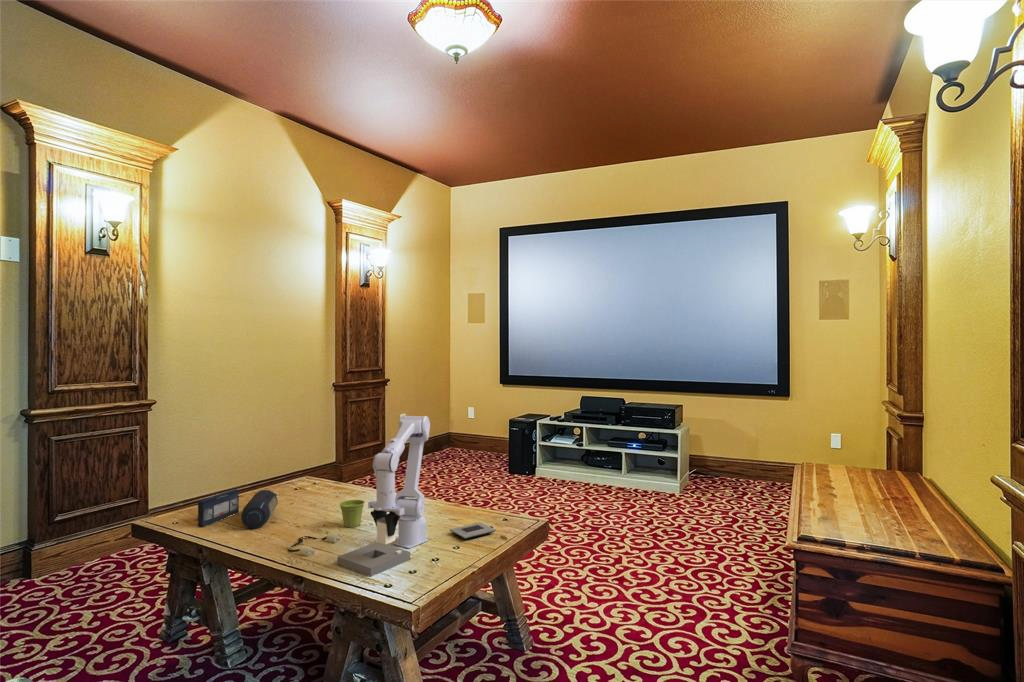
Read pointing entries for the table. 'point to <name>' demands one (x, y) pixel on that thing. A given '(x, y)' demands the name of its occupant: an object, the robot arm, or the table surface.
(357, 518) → the plant pot
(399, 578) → the table surface
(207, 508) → the vhs cassette tape
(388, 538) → the plug
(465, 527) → the electrical outlet
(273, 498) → the portable speaker
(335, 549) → the table surface
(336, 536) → the cable
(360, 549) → the socket block
